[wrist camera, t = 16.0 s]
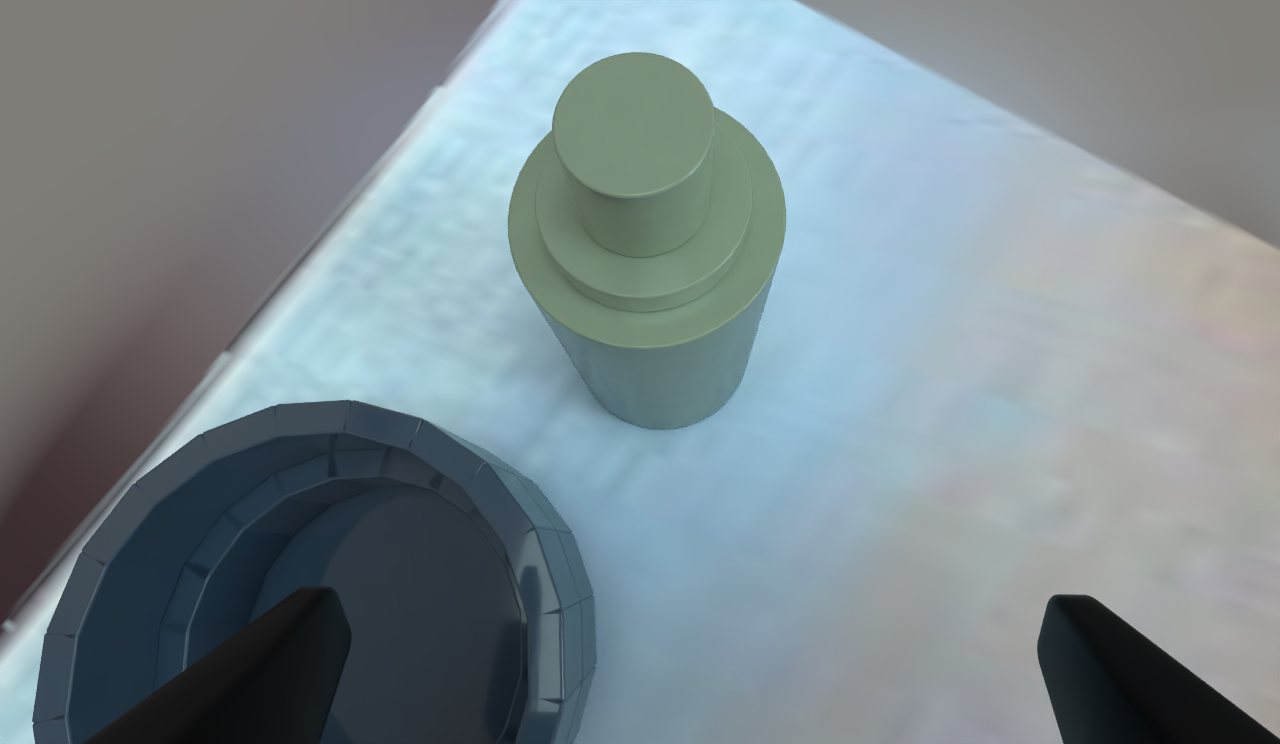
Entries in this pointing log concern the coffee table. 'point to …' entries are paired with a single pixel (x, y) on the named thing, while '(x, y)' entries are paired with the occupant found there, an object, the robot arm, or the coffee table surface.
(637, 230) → the capped bottle
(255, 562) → the pot
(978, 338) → the coffee table surface
